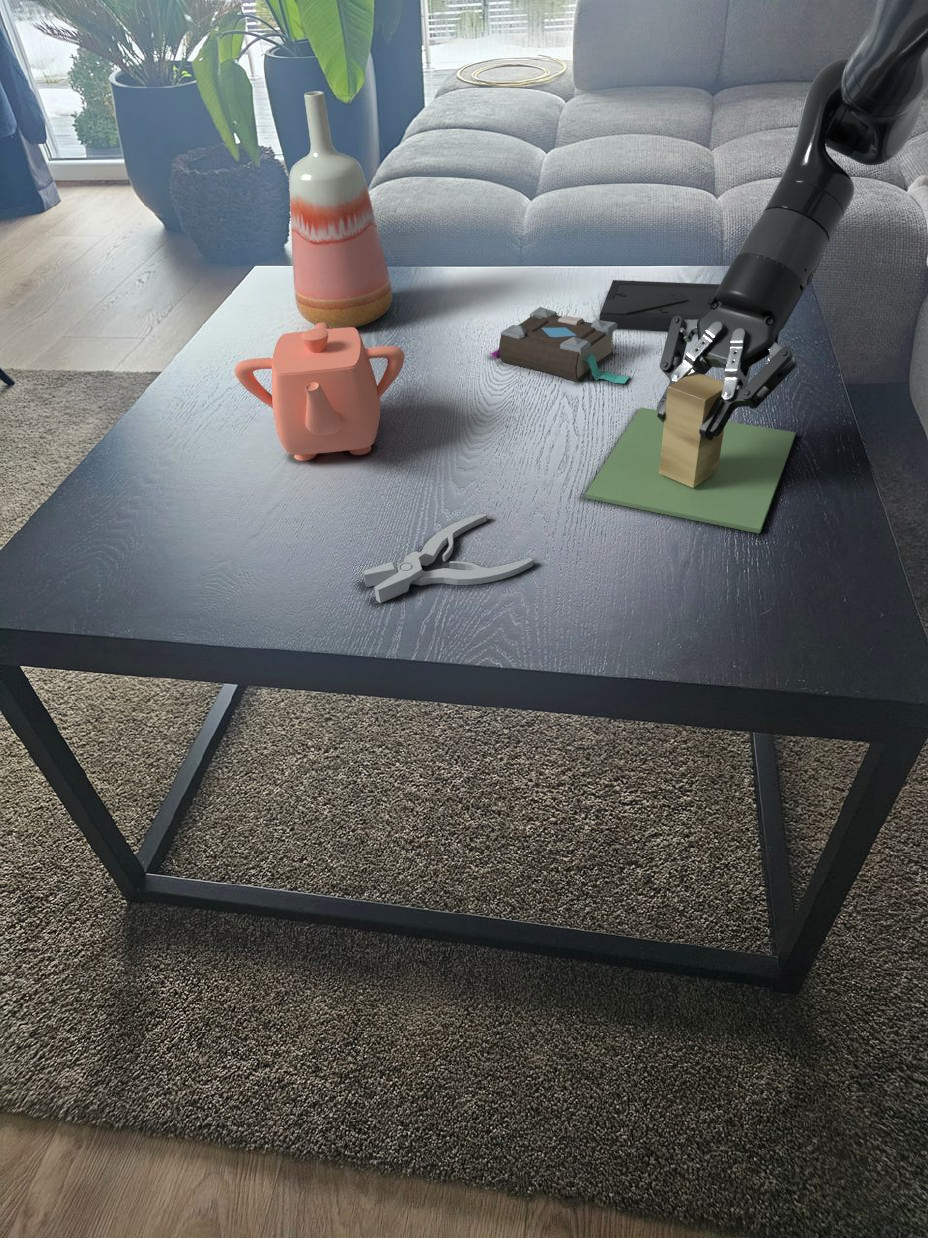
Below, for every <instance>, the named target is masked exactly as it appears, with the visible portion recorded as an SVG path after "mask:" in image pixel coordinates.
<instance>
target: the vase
mask: <svg viewBox="0 0 928 1238" xmlns="http://www.w3.org/2000/svg"><path fill="white" fill-rule="evenodd" d="M303 97H304V104H305V113H306V119H307V126H308V135H309V142H310V149H309V153H308V154H307V155H306V156H304V157H302V158H301V159H299V160H298V161H296V162H295V163H294V164H293V165H292V166H291V169H290V171H289V176H288V188H289V210H290V211H289V212H290V213H289V214H290V233H291V251H292V252H291V253H292V254H291V255H292V274H293V275H292V276H293V291H294V300H295V304H296V307H297V310H298V312H299V314H300V315H301V316H302V318H304V319H305V320H306V321H308V322H309V323H310V324H312V325H314V326H315V325H316V324H318V323H326V324H328V325H329V328H330V329H333V328H347V327H353V328H355V329H356V328H359V327H362V326H363V327H364V326H366V325H369V324H371V323H373V322H375V321H377V320H378V319H380V318H381V317H382V316H383V315H385V313H387V311H388V310H389V308H390V307H391V304H392V301H393V288H392V283H391V277H390V273H389V269H388V265H387V260H386V256H385V253H384V249H383V244H382V240H381V236H380V233H379V229H378V225H377V221H376V217H375V212H374V209H373V205H372V200H371V197H370V191H369V188H368V185H367V184H368V183H367V180H366V176H365V172H364V169H363V167H362V165H361V163H360V162H359V161H358V160H357V159H356V158H355V157H352V156H351V155H348V154H346V153H344V152H339V151H338V150H337V149H336V148H335V146H334V144H333V139H332V133H331V126H330V120H329V114H328V108H327V101H326V96H325V92H324V91H319V90H315V91H309V92H305V93H304V95H303Z"/></svg>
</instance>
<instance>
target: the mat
mask: <svg viewBox="0 0 928 1238" xmlns="http://www.w3.org/2000/svg"><path fill="white" fill-rule="evenodd" d="M657 414H658V411H657V409H653V408H647V407H640V408H639V410H638V411H637V413H636V414H635V416H634V417H633V419H632V420H631V422H630V424H629V425H628V427H627V428H626V430H625V432H624V433H623V434H622V436H621V438H620V439H619V441H618V442H617V444H616V446H615V447H614V449H613V450H612V452H611V453H610V455H609V456H608V458H607V460H606V461H605V462H604V465H603V466H602V467H601V469H600V471H599V472H598V474H597V475H596V476H595V478H594V480H593V482H592V483H591V485H590V486H589V488H588V490H587V491H586V492H585V496H584V497H585V499H587V500H592V501H597V502H603V503H607V504H611V505H618V506H622V507H627V508H632V509H637V510H642V511H645V512H651V513H656V514H662V515H666V516H671V517H675V518H681V519H685V520H691V521H694V522H695V521H696V522H701V523H704V524H711V525H715V526H720V527H725V528H730V529H734V530H739V531H744V532H749V533H753V534H759V535H760V534H761V532H762V530H763V527H764V524H765V521H766V518H767V516H768V514H769V510H770V507H771V505H772V502H773V499H774V497H775V494H776V491H777V488H778V485H779V483H780V480H781V476H782V474H783V472H784V468H785V465H786V463H787V460H788V457H789V454H790V452H791V449H792V446H793V444H794V441H795V438H796V434H797V433H796V432H795V431H789V430H784V429H777V428H771V427H766V426H765V427H764V426H758V425H753V424H745V423H741V422H733V421H728V422H727V424H726V426H725V427H724V433H723V440H722V446H721V452H720V459H719V465H718V471H717V472H715V473H714V474H713V475H711V476H710V477H708V478H707V479H706V480H704V481H703V482H701V483H700V484H698V485H697V486H696V487H694V488H692V487H689V486H687V485H685V484H682V483H680V482H678V481H676V480H673V479H671V478H669V477H666V476H664V475H662V474H659V467H660V458H661V448H662V439H663V429H664V423H663V422H662V421H661V420H660V419H659V418H658V417H657Z"/></svg>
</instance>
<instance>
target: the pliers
mask: <svg viewBox="0 0 928 1238" xmlns="http://www.w3.org/2000/svg"><path fill="white" fill-rule="evenodd" d="M487 520H488V517H487V514H486V513H485V512H483V513H479V514H476V515H475V514H474V515H472V516H468V517H465V518H463V519H460V520H458V521H456V522H453V523H451V524H450V525H448V526H446V527H444V528H443V529H441V530H439V531H438V532H437V533H436V534H434V535H433V536H431V537H430V539H428V541H427V542H425V544H424V545H423V547H422V549H421V551H412V552H411V553H408V555H405V557H404V559H403V561H402V562H400V563H398V565H397V566H396V564H395V563H394V562H393V561H390V562H386V563H384V564H380V565H378V566H375V567H372V568H368V569H365V570H363V578H364V583H365V588H370V587H373V589H374V594H375V601H376V602H378V603H379V604H382V603H384V602H386V601H389V600H391V599H394V598H396V597H398V596H400V595H402V594H404V593H405V594H406V593H408V592H409V589H410V586H411V585H416V586H426V585H431V584H447V585H454V586H473V585H481V584H486V583H487V584H488V583H491V582H493V583H494V582H497V581H501V580H504V579H508V578H511V577H513V576H516V575H519V574H521V573H522V572H524V571H526V570H528V569H530V568H532V567H534V558H532V557H527V558H524V559H521V560H518V561H514V562H510V563H507V564H503V565H502V564H501V565H498V566H493V567H492V566H491V567H483V566H481V565H479V564H476V563H473V562H468V561H449V568H448V567H447V568H446V567H442V568H437V569H432V570H427V571H425V570H423V568H422V566H423V567H429V566H430V565H431V564H433V563H434V562H435V561H436V559H437V558H438V556H439V554H440V552H441V551H442V550H443V548H444V547H445V546H446V545H448V547H447V549H446V551H445V552H444V553H443V554H442V556H441V557H442V562H444V563H445V562H447V560H448V559H449V558H450V557H451V555H452V554H453V551H454V539H455V538H457V537H459V536H460V535H462V534H463V533H465V532H467V531H469V530H471V529H472V528H473V529H474V528H475V527H477V526H479V525H481V524H484V523H485V522H486V523H487Z"/></svg>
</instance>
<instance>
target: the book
mask: <svg viewBox="0 0 928 1238" xmlns="http://www.w3.org/2000/svg"><path fill="white" fill-rule="evenodd" d="M616 330H617V323H615V322H608V321H601V320H599V319H596V320H592V322H588V321H585V320H584V318H583V317H576V316H571V315H570V316H569V315H565V314H564V315H558V312H557V311H554V310H552V309H548V308H545V307H542V306H539V307H537V308H536V309H535V310H533V311H532V312H530V313H529V317H528V318H526V319H525V320H523V321H522V322H521V323H519V324H517V325H516V324H511V325H510V326H508V327H507V328H504V329H503V330H502V331H501V332H500V338H499V345H498V349H497V350H494V351H492V352H491V353H490V355H491V356H493V358H497V357H499V358H500V360H501V362H502V363H505V364H509V365H513V366H517V367H518V366H519V367H522V368H527V369H532V370H536V371H540V372H544V373H547V374H550V375H553V376H557V377H560V378H563V379H565V380H569V381H572V382H576V383H579V382H580V381H581V380H583V378H584V377H586V376H587V375H588V374H589V373H590V372H591V375H592V376H593V378H594V380H595V381H597V380H599V379H603V380H606V381H608V382H610V383H613V384H626V382H627V381H628V379H629V378H630V376H628V375H627V376H626V375H618V374H615V373H612V372H610V371H604V372H601V371H600V369H599V367H598V366H599V365H600V364H601V363H603V362H604V361H606V360H608V359H609V358H611V357H612V356H613V355H614V350H613V343H614V342H613V335H614V332H615V331H616Z"/></svg>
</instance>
